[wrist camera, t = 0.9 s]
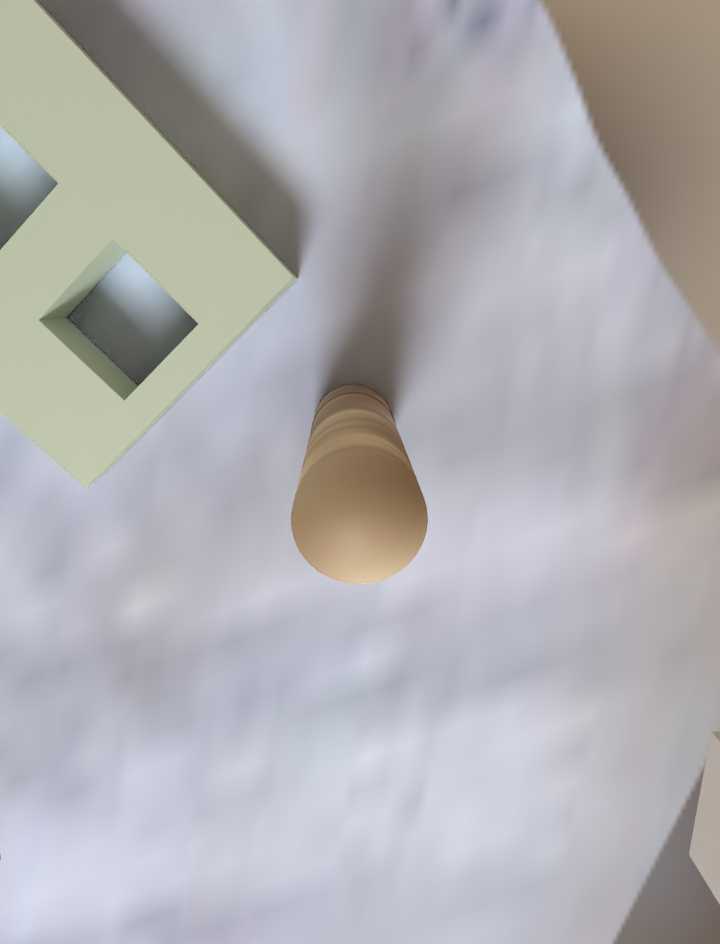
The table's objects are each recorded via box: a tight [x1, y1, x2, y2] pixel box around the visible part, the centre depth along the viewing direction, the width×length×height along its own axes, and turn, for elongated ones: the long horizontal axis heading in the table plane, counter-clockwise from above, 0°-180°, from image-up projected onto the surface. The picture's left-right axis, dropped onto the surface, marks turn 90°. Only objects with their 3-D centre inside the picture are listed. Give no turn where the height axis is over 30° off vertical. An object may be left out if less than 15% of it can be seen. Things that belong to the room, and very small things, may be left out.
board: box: [0, 0, 298, 488], centre depth 30 cm, size 16×14×3 cm
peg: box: [291, 384, 428, 584], centre depth 26 cm, size 4×4×15 cm
